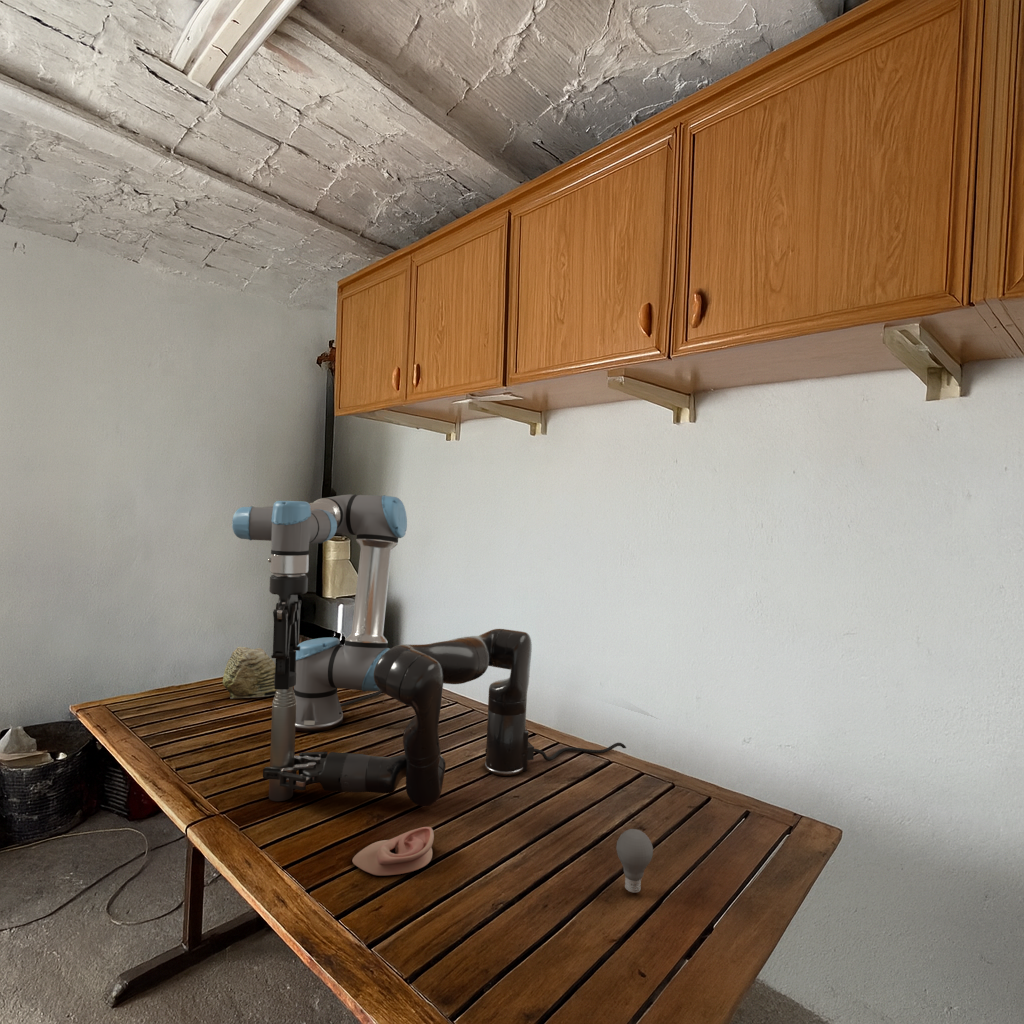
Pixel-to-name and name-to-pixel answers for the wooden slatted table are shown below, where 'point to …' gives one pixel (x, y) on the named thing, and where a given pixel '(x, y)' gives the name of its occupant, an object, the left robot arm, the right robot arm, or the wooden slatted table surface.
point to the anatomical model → (397, 853)
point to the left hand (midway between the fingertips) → (285, 685)
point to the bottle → (282, 740)
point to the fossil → (249, 674)
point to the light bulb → (634, 857)
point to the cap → (290, 679)
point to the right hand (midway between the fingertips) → (269, 767)
